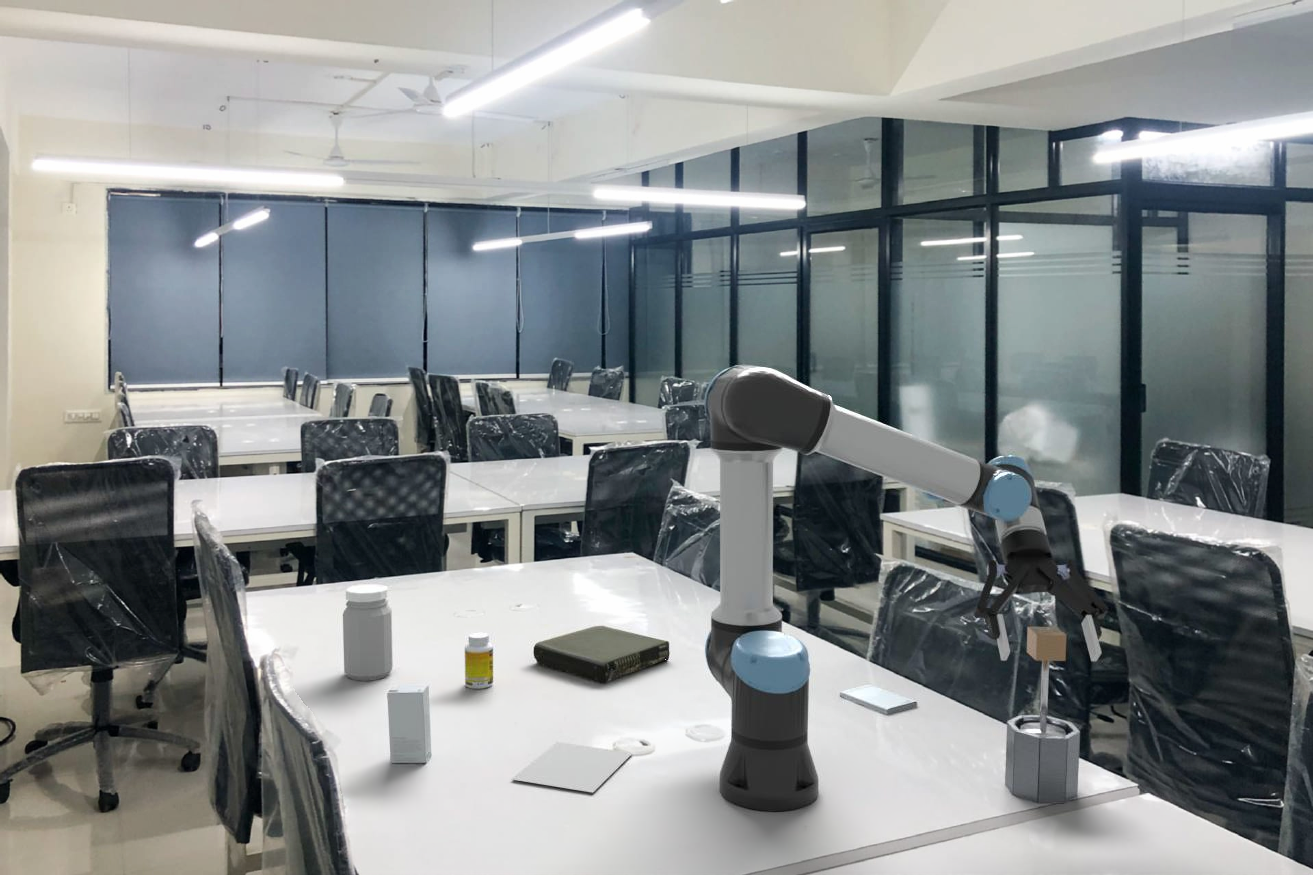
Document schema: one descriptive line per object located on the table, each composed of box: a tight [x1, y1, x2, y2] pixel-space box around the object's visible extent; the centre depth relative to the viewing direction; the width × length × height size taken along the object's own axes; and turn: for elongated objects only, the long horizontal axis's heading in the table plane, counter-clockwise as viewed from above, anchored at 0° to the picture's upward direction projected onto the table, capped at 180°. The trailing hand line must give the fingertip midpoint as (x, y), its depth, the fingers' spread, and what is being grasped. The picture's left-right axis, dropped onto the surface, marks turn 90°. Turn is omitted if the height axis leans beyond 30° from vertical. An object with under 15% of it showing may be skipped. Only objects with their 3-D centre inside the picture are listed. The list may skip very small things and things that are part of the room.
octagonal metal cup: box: [1004, 714, 1081, 804], centre depth 166 cm, size 10×10×10 cm
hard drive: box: [839, 684, 918, 715], centre depth 206 cm, size 2×8×12 cm
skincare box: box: [386, 684, 432, 764], centre depth 177 cm, size 6×4×12 cm
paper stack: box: [511, 741, 633, 794], centre depth 180 cm, size 23×25×1 cm
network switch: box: [532, 625, 670, 685], centre depth 230 cm, size 23×23×5 cm
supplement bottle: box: [464, 632, 494, 690], centre depth 214 cm, size 6×6×10 cm
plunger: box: [1020, 626, 1067, 737], centre depth 165 cm, size 7×7×16 cm
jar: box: [342, 583, 394, 681], centre depth 221 cm, size 10×10×18 cm
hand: (1051, 656), depth 163 cm, fingers open, 13 cm apart
